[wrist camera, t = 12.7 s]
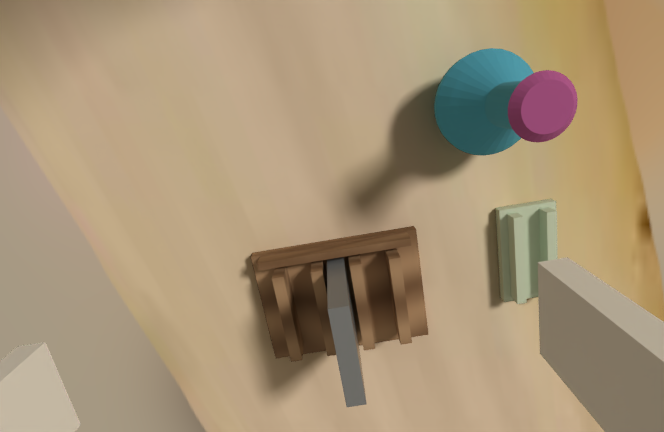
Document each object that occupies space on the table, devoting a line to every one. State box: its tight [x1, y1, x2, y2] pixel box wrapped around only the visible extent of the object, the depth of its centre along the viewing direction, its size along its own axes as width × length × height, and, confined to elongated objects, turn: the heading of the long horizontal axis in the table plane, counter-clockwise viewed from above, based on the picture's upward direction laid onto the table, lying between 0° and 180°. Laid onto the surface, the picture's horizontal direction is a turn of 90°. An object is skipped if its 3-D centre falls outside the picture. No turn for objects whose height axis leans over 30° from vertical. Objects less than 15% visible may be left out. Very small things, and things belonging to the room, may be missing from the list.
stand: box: [496, 199, 557, 304], centre depth 44 cm, size 11×6×3 cm, turn 10°
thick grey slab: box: [327, 257, 367, 407], centre depth 40 cm, size 10×2×11 cm, turn 10°
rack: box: [251, 226, 428, 362], centre depth 44 cm, size 13×18×4 cm
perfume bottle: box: [434, 48, 577, 155], centre depth 34 cm, size 9×9×15 cm
